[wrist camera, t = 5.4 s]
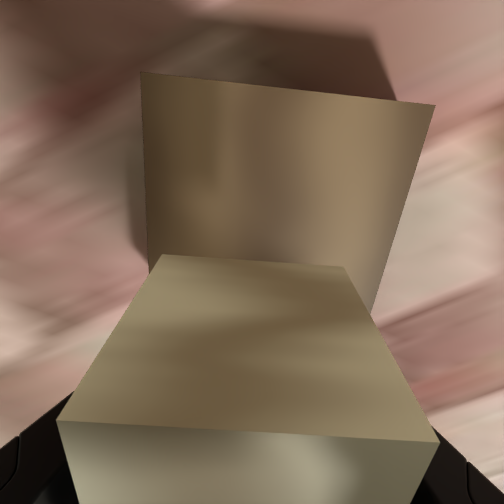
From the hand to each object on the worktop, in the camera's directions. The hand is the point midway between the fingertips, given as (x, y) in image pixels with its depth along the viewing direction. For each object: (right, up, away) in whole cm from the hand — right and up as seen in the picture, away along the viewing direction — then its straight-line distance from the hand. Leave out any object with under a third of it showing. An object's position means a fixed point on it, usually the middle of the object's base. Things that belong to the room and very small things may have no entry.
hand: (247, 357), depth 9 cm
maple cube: (0, 0, +1) cm, 1 cm away
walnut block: (+1, +6, +10) cm, 12 cm away
